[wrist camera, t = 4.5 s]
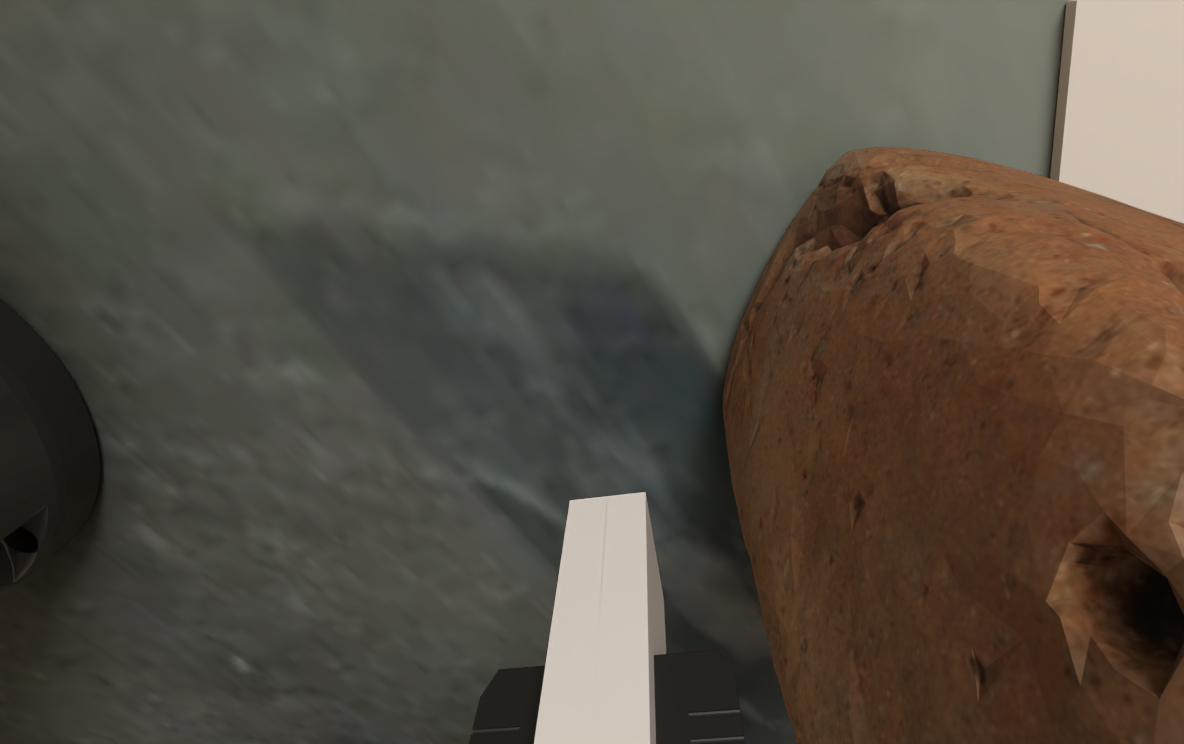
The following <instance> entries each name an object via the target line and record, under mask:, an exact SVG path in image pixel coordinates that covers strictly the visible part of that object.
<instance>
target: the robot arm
mask: <svg viewBox="0 0 1184 744" xmlns="http://www.w3.org/2000/svg"><path fill="white" fill-rule="evenodd" d="M99 481H100V458H99V450H98V444H97V439H96V435H95V431H94V428H93V425H92V422H91V419H90V416H89V414H88V411H87V409H86V406H85V404H84V402H83V400H82V398H81V396H80V394H79V392H78V390H77V388H76V386H75V385H74V383H73V381H72V380H71V378H70V376H69V375H68V373H67V372H66V370H65V369H64V367H63V366H62V364H61V363H60V361H59V360H58V359H57V357H56V356H55V355H54V353H53V352H52V351H51V350H50V348H49V347H48V346H47V345H46V344H45V342H44V341H43V340H42V339H41V338H40V337H39V335H38V334H37V333H36V332H35V331H34V330H33V329H32V328H31V327H30V326H29V325H28V324H27V323H26V322H25V321H24V320H23V319H22V318H21V317H20V316H19V315H18V314H17V313H16V312H15V311H14V310H12V309H11V308H10V307H9V306H8V305H7V304H6V303H4V302H3V301H2V300H1V299H0V592H1V591H3V590H5V589H7V588H9V587H11V586H13V585H14V584H16V583H17V582H19V581H21V580H22V579H24V578H25V577H27V576H28V575H30V574H31V573H32V572H34V571H35V570H36V569H37V568H38V567H40V566H41V565H42V564H43V563H44V562H45V561H47V560H48V559H49V558H50V557H51V556H52V555H53V554H55V553H56V552H57V551H58V550H59V549H60V548H62V547H63V546H64V545H65V544H66V543H67V542H68V541H70V540H71V539H72V538H73V537H74V536H75V535H76V534H77V533H78V532H79V530H80V529H81V528H82V526H83V525H84V524H85V522H86V521H87V519H88V517H89V516H90V513H91V511H92V509H93V507H94V504H95V501H96V498H97V493H98V489H99ZM469 744H745V740H744V733H743V727H742V720H741V714H740V707H739V701H738V694H737V688H736V681H735V676H734V674H733V673H732V671H731V670H730V668H729V667H728V665H727V664H726V662H725V661H724V660H723V658H722V657H721V655H720V654H719V652H718V651H717V650H710V651H697V652H685V653H673V654H666V637H665V616H664V598H663V592H662V586H661V581H660V575H659V569H658V563H657V557H656V551H655V545H654V539H653V533H652V528H651V522H650V516H649V510H648V504H647V498H646V492H642V493H633V494H624V495H615V496H606V497H597V498H588V499H579V500H570V503H569V510H568V517H567V523H566V530H565V537H564V544H563V550H562V557H561V564H560V570H559V577H558V584H557V591H556V597H555V604H554V611H553V618H552V624H551V631H550V638H549V645H548V651H547V658H546V665H545V666H535V667H523V668H510V669H499V670H498V672H497V673H496V675H495V676H494V678H493V679H492V681H491V682H490V684H489V685H488V687H487V688H486V690H485V691H484V692H483V694H482V695H481V697H480V700H479V704H478V709H477V713H476V717H475V721H474V725H473V735H471V738H470V742H469Z"/></svg>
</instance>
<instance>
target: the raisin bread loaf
mask: <svg viewBox="0 0 1184 744" xmlns="http://www.w3.org/2000/svg"><path fill="white" fill-rule="evenodd" d="M723 418H724V426H725V433H726V445H727V451H728V457H729V465H730V472H731V479H732V486H733V491H734V496H735V500H736V505H737V509H738V516H739V520H740V525H741V529H742V534H743V538H744V543H745V546H746V549H747V552H748V554H749V556H750V560H751V565H752V570H753V575H754V579H755V584H756V588H757V593H758V598H759V603H760V608H761V612H762V616H763V620H764V625H765V629H766V633H767V638H768V642H769V647H770V651H771V655H772V660H773V664H774V669H775V672H776V675H777V677H778V680H779V684H780V687H781V691H782V695H783V699H784V703H785V707H786V710H787V714H788V718H789V720H790V721H791V723H792V725H793V727H794V728H795V737H796V741H797V744H1184V223H1181V222H1178V221H1175V220H1172V219H1169V218H1166V217H1163V216H1160V215H1157V214H1154V213H1151V212H1148V211H1145V210H1142V209H1139V208H1136V207H1133V206H1130V205H1127V204H1125V203H1122V202H1119V201H1116V200H1114V199H1111V198H1108V197H1105V196H1102V195H1099V194H1096V193H1093V192H1090V191H1087V190H1084V189H1081V188H1078V187H1075V186H1072V185H1069V184H1066V183H1063V182H1059V181H1056V180H1053V179H1049V178H1046V177H1043V176H1039V175H1036V174H1032V173H1028V172H1025V171H1021V170H1017V169H1013V168H1009V167H1005V166H1002V165H998V164H994V163H990V162H986V161H982V160H978V159H974V158H969V157H964V156H958V155H953V154H947V153H940V152H933V151H925V150H918V149H911V148H895V147H875V148H866V149H861V150H855V151H850V152H848V153H846V154H844V155H843V156H842V157H841V158H840V159H839V160H838V161H837V162H836V163H834V164H833V165H832V166H831V167H830V168H829V169H828V170H827V171H826V173H825V175H824V177H823V178H822V180H821V182H820V184H819V186H818V187H817V188H816V189H815V190H814V192H813V193H812V194H811V196H810V197H809V199H808V200H807V201H806V203H805V204H804V206H803V207H802V208H801V210H800V211H799V213H798V214H797V215H796V217H795V218H794V219H793V221H792V222H791V224H790V225H789V227H788V228H787V229H786V231H785V233H784V235H783V236H782V238H781V240H780V242H779V244H778V246H777V248H776V249H775V251H774V253H773V255H772V257H771V258H770V260H769V262H768V264H767V266H766V268H765V270H764V272H763V274H762V276H761V278H760V280H759V282H758V284H757V286H756V288H755V290H754V292H753V295H752V297H751V299H750V302H749V304H748V307H747V309H746V311H745V314H744V316H743V319H742V321H741V324H740V326H739V329H738V332H737V335H736V338H735V342H734V345H733V348H732V351H731V355H730V360H729V364H728V369H727V374H726V379H725V384H724V389H723Z"/></svg>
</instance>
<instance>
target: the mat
mask: <svg viewBox="0 0 1184 744" xmlns="http://www.w3.org/2000/svg"><path fill="white" fill-rule="evenodd" d="M1050 179H1053V180H1056V181H1059V182H1063V183H1066V184H1069V185H1072V186H1075V187H1078V188H1081V189H1084V190H1087V191H1090V192H1093V193H1096V194H1099V195H1102V196H1105V197H1108V198H1111V199H1114V200H1116V201H1119V202H1122V203H1125V204H1127V205H1130V206H1133V207H1136V208H1139V209H1142V210H1145V211H1148V212H1151V213H1154V214H1157V215H1160V216H1163V217H1166V218H1169V219H1172V220H1175V221H1178V222H1181V223H1184V0H1072V1H1067V3H1066V14H1065V25H1064V35H1063V46H1062V56H1061V67H1060V78H1059V88H1058V99H1057V109H1056V120H1055V131H1054V141H1053V152H1052V162H1051V173H1050Z"/></svg>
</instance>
